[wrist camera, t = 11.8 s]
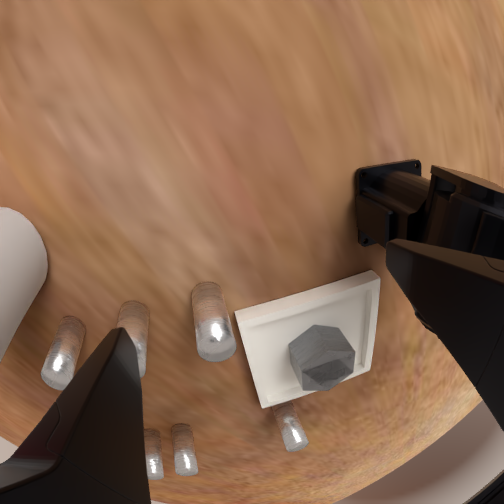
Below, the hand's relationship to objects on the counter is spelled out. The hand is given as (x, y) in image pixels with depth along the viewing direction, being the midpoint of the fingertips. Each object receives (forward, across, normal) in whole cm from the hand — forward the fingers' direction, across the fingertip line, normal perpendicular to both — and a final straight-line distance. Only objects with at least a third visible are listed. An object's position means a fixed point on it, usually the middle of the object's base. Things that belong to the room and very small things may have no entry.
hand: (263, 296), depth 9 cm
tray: (+12, -5, +16) cm, 21 cm away
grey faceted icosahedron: (+11, -5, +16) cm, 21 cm away
